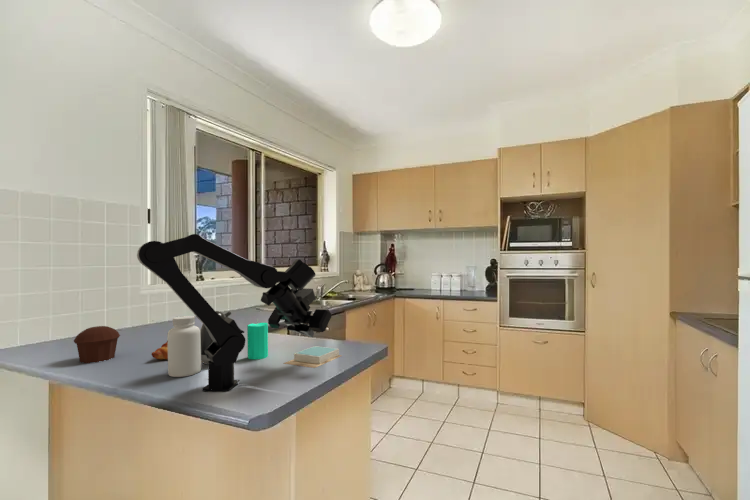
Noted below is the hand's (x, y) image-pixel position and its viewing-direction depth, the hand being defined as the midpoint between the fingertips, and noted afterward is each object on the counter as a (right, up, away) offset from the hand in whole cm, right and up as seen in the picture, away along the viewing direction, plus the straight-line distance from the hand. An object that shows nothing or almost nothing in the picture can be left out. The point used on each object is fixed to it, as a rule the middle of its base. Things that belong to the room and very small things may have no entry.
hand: (312, 335), depth 110 cm
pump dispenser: (-28, -8, +1) cm, 30 cm away
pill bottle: (-33, -8, -9) cm, 35 cm away
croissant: (-43, -9, +12) cm, 46 cm away
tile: (-1, -6, -3) cm, 7 cm away
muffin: (-68, -9, +7) cm, 69 cm away
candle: (-17, -8, +4) cm, 20 cm away
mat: (0, -8, 0) cm, 8 cm away
